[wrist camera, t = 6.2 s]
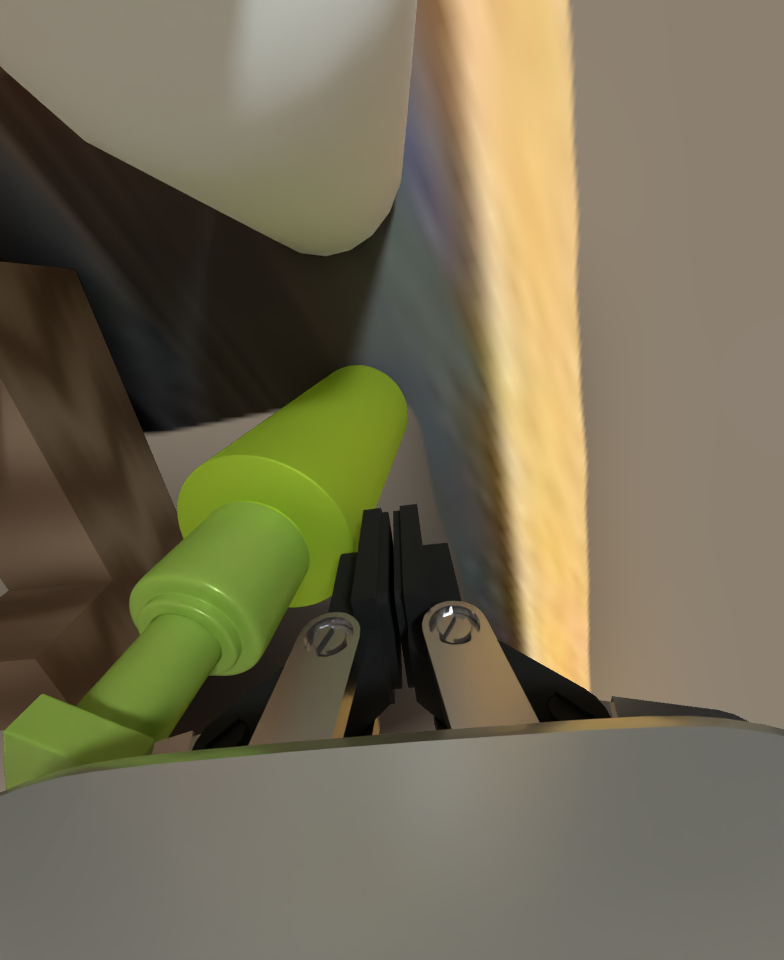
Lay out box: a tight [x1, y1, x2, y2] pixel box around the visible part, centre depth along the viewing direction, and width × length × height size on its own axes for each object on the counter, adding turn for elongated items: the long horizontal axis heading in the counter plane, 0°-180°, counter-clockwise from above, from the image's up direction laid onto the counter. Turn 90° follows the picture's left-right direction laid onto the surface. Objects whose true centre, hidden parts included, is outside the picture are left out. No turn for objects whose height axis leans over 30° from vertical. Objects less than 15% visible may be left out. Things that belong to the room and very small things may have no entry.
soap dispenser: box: [3, 365, 408, 790], centre depth 15 cm, size 6×7×20 cm
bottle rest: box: [0, 262, 184, 730], centre depth 19 cm, size 20×6×12 cm, turn 7°
